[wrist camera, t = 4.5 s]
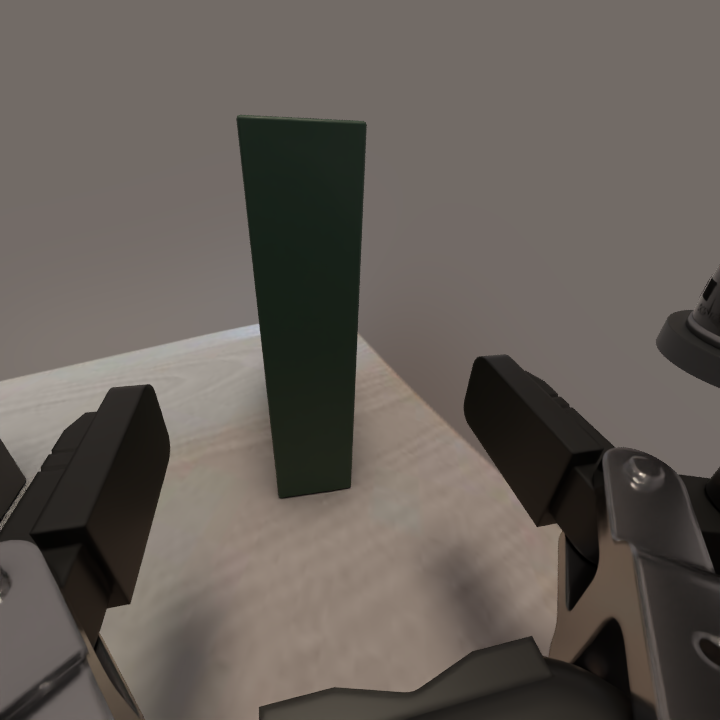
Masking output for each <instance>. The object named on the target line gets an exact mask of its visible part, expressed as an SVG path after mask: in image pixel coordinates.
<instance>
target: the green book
mask: <svg viewBox="0 0 720 720" xmlns="http://www.w3.org/2000/svg"><path fill="white" fill-rule="evenodd" d="M366 126H367V125H366V122H364V121H350V120H331V119H330V120H329V119H311V118H292V117H272V116H252V115H239V116H237V128H238V137H239V146H240V155H241V164H242V173H243V182H244V191H245V199H246V209H247V218H248V227H249V236H250V245H251V254H252V262H253V271H254V281H255V289H256V297H257V307H258V316H259V325H260V334H261V343H262V352H263V361H264V370H265V379H266V388H267V397H268V406H269V415H270V424H271V433H272V442H273V451H274V460H275V469H276V477H277V486H278V495H279V498H284V497H290V496H297V495H304V494H310V493H317V492H324V491H330V490H337V489H344V488H350V487H351V469H352V446H353V423H354V401H355V378H356V355H357V332H358V308H359V285H360V264H361V241H362V218H363V195H364V194H363V193H364V171H365V149H366Z"/></svg>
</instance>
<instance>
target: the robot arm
mask: <svg viewBox="0 0 720 720" xmlns="http://www.w3.org/2000/svg"><path fill="white" fill-rule="evenodd" d="M709 280H710V279H709ZM708 282H709V281H708ZM706 285H707V284H706ZM705 287H706V286H705ZM686 326H687V328H688V329H689V330H690V331H691V332H692V333H693V334H694V335H695V336H697V337H698V338H700V339H701V340H703V341H705V342H707V343H708V344H710V345H712V346H714V347H716V348H718V349H720V265H719V267H718V268H717V270H716V272H715V274H714V275H713V277H712V279H711V281H710V282H709V284H708V286H707V288H706V290H705V291H704V293H703V295H702V297H701V298H700V300H699V302H698V304H697V306H696V307H695V309H694V310H693V311H692V312H691V313H690V315H689V317H688V318H687V320H686ZM464 414H465V418H466V421H467V423H468V425H469V426H470V428H471V429H472V431H473V432H474V434H475V435H476V437H477V438H478V440H479V441H480V443H481V444H482V446H483V447H484V449H485V450H486V452H487V453H488V455H489V456H490V458H491V459H492V461H493V462H494V463H495V465H496V467H497V468H498V470H499V471H500V473H501V474H502V476H503V477H504V479H505V480H506V482H507V483H508V484H509V486H510V487H511V489H512V490H513V492H514V493H515V495H516V496H517V498H518V499H519V501H520V502H521V504H522V505H523V507H524V508H525V510H526V511H527V513H528V514H529V516H530V517H531V519H532V520H533V522H534V523H535V525H536V526H537V527H540V526H545V525H550V524H555V523H557V524H558V525H559V526H560V528H561V529H562V532H561V534H560V536H559V540H558V597H557V622H556V628H555V632H554V635H553V638H552V641H551V645H550V650H549V656H548V657H545V656H542V654H541V652H540V650H539V648H538V646H537V645H536V643H535V641H534V639H533V637H532V636H530V637H526V638H522V639H518V640H515V641H511V642H507V643H503V644H499V645H495V646H491V647H488V648H484V649H480V650H476V651H472V652H471V653H470V654H468V655H467V656H465V657H464V658H462V659H461V660H459V661H458V662H457V663H455V664H454V665H452V666H451V667H449V668H448V669H447V670H445V671H444V672H442V673H441V674H439V675H438V676H436V677H435V678H434V679H432V680H431V681H429V682H428V683H426V684H425V685H423V686H422V687H421V688H419V689H417V690H415V691H413V692H405V693H404V692H390V691H377V690H363V689H350V688H336V687H334V688H330V689H326V690H322V691H319V692H315V693H311V694H307V695H303V696H299V697H295V698H292V699H288V700H284V701H280V702H276V703H272V704H269V705H265V706H261V707H259V720H720V467H719V469H718V470H717V471H716V472H715V474H714V475H713V476H712V477H711V479H709V478H702V477H694V476H686V475H678V474H677V473H676V472H675V471H674V470H673V469H672V468H671V467H669V466H668V465H667V464H665V463H664V462H662V461H661V460H659V459H657V458H656V457H653V456H652V455H649V454H647V453H645V452H642V451H639V450H636V449H631V448H624V447H623V448H622V447H618V448H615V447H614V446H613V445H612V444H611V443H610V442H609V441H608V440H607V439H605V438H604V437H603V436H602V435H601V434H600V433H599V432H598V431H597V430H596V429H595V428H594V427H593V426H592V425H591V424H589V423H588V422H587V421H586V420H585V419H584V418H583V417H582V416H581V415H580V414H579V413H578V412H577V411H576V410H575V409H573V408H570V407H569V404H568V403H567V402H566V401H565V400H564V399H563V398H562V397H558V394H557V393H556V392H555V391H554V390H553V389H552V388H551V387H550V386H549V385H548V384H546V382H545V381H543V380H541V379H539V378H538V377H536V376H534V375H532V374H530V373H529V372H527V371H524V370H523V369H522V368H521V367H520V366H519V365H518V364H517V363H516V362H515V361H514V360H513V359H511V357H509V356H508V355H493V356H481V357H477V359H476V360H475V361H474V363H473V367H472V371H471V375H470V379H469V384H468V388H467V393H466V396H465V400H464ZM51 451H52V454H49V455H48V457H47V458H46V460H45V461H44V463H43V465H42V466H41V472H38V473H37V474H36V476H35V477H34V479H33V481H32V482H31V484H30V485H29V487H28V488H27V490H26V492H25V493H24V495H23V496H22V498H21V500H20V501H19V503H18V504H17V506H16V508H15V509H14V511H13V512H12V514H11V516H10V517H9V519H8V520H7V522H6V523H5V525H4V527H3V528H2V530H1V531H0V720H145V718H144V716H143V714H142V712H141V710H140V709H139V707H138V705H137V703H136V701H135V699H134V697H133V695H132V693H131V691H130V689H129V687H128V686H127V684H126V682H125V680H124V678H123V676H122V674H121V672H120V670H119V668H118V666H117V664H116V663H115V661H114V659H113V657H112V655H111V653H110V651H109V649H108V647H107V645H106V643H105V641H104V640H103V638H102V636H101V634H100V633H99V631H100V628H101V625H102V622H103V619H104V616H105V612H106V609H107V608H112V607H117V606H122V605H127V604H130V603H131V599H132V596H133V592H134V588H135V585H136V581H137V577H138V573H139V570H140V566H141V562H142V559H143V555H144V551H145V547H146V544H147V540H148V536H149V533H150V529H151V525H152V521H153V518H154V514H155V510H156V507H157V503H158V499H159V495H160V492H161V488H162V484H163V481H164V477H165V473H166V469H167V466H168V462H169V456H170V441H169V435H168V432H167V428H166V425H165V422H164V419H163V416H162V412H161V409H160V406H159V403H158V400H157V396H156V393H155V391H154V388H153V387H152V386H151V385H150V384H147V385H135V386H124V387H113V388H111V389H110V390H109V391H108V393H107V394H106V396H105V398H104V400H103V402H102V403H101V405H100V407H99V409H98V411H97V412H89V413H85V414H83V415H82V416H81V417H80V418H79V419H77V420H76V421H75V422H74V423H72V424H71V425H70V426H69V427H68V428H66V429H65V430H64V431H63V433H62V434H61V436H60V438H59V439H58V441H57V442H56V444H55V446H54V447H53V449H52V450H51Z"/></svg>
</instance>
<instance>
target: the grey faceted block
mask: <svg viewBox="0 0 720 720" xmlns="http://www.w3.org/2000/svg"><path fill="white" fill-rule="evenodd" d="M25 481H26V478H25V477H24V475H23V474H22V472H21V471H20V469H19V467H18V466H17V464H16V463H15V461H14V460H13V458H12V456H11V455H10V453H9V452H8V450H7V449H6V447H5V445H4V444H3V442H2V441H1V439H0V520H1V518H2V516H3V515H4V513H5V512H6V510H7V509H8V507H9V506H10V504H11V503H12V501H13V500H14V498H15V497H16V495H17V494H18V492H19V490H20V489H21V487H22V486H23V484H24V483H25Z"/></svg>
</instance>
